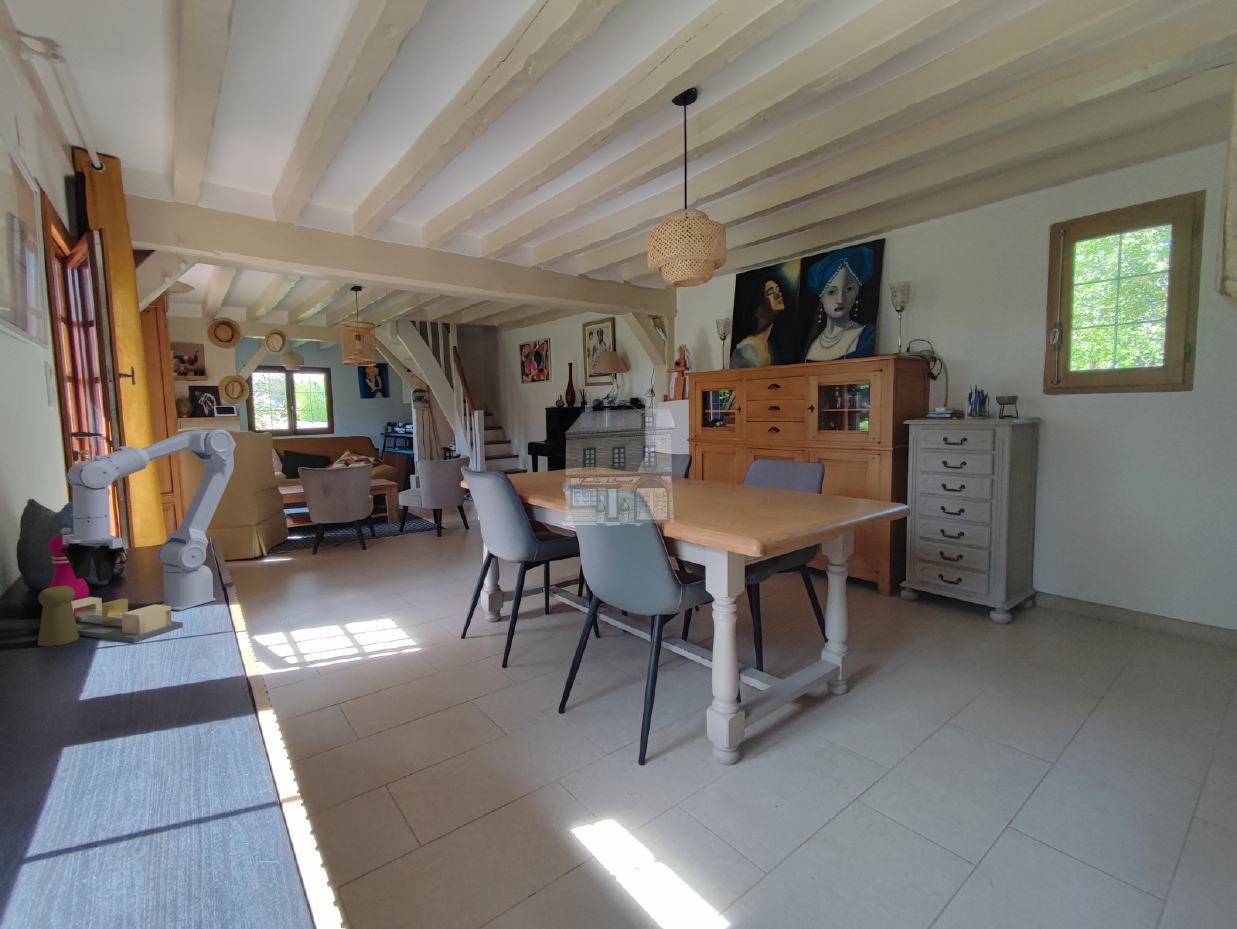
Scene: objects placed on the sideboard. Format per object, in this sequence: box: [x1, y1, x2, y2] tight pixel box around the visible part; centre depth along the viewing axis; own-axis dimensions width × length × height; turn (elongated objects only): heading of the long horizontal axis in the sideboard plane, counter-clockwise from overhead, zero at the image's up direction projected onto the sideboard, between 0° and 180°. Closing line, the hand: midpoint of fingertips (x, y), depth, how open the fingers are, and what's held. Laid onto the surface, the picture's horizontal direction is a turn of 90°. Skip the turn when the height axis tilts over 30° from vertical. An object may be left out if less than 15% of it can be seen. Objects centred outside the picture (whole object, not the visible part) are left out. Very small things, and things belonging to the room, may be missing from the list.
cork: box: [37, 586, 80, 647], centre depth 115 cm, size 6×6×11 cm
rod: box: [74, 598, 129, 627], centre depth 124 cm, size 4×17×5 cm, turn 76°
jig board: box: [71, 596, 184, 643], centre depth 123 cm, size 10×25×5 cm, turn 76°
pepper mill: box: [47, 527, 90, 609], centre depth 133 cm, size 7×7×20 cm
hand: (93, 579), depth 124 cm, fingers open, 6 cm apart
